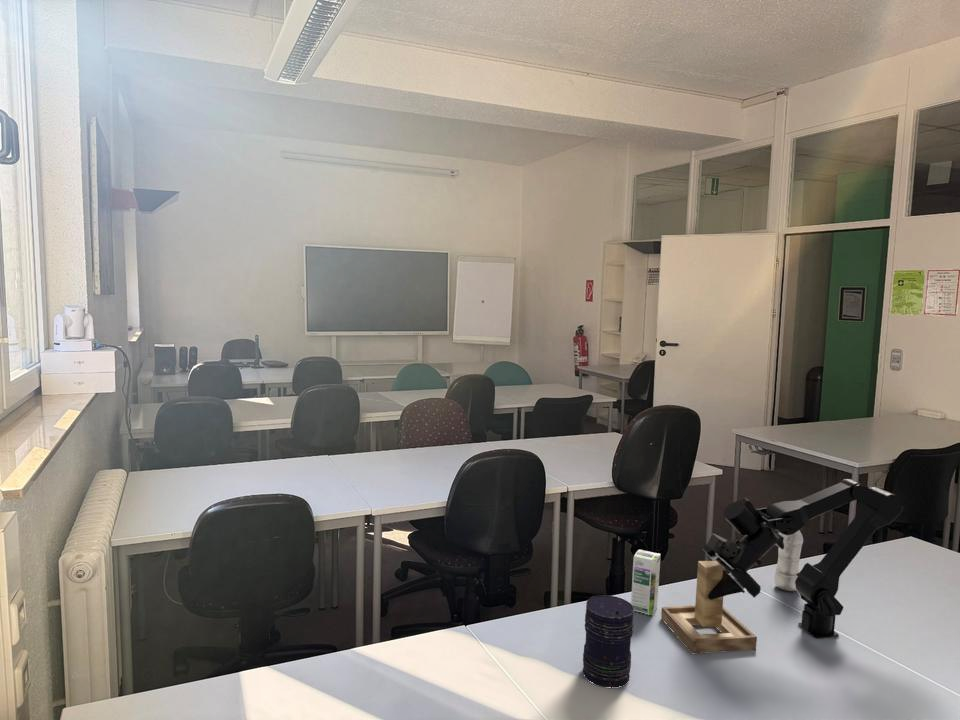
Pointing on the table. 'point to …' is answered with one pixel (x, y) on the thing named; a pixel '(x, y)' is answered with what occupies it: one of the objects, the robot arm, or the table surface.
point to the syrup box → (645, 581)
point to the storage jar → (608, 640)
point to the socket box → (728, 640)
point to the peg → (705, 608)
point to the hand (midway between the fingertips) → (704, 593)
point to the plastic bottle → (788, 561)
